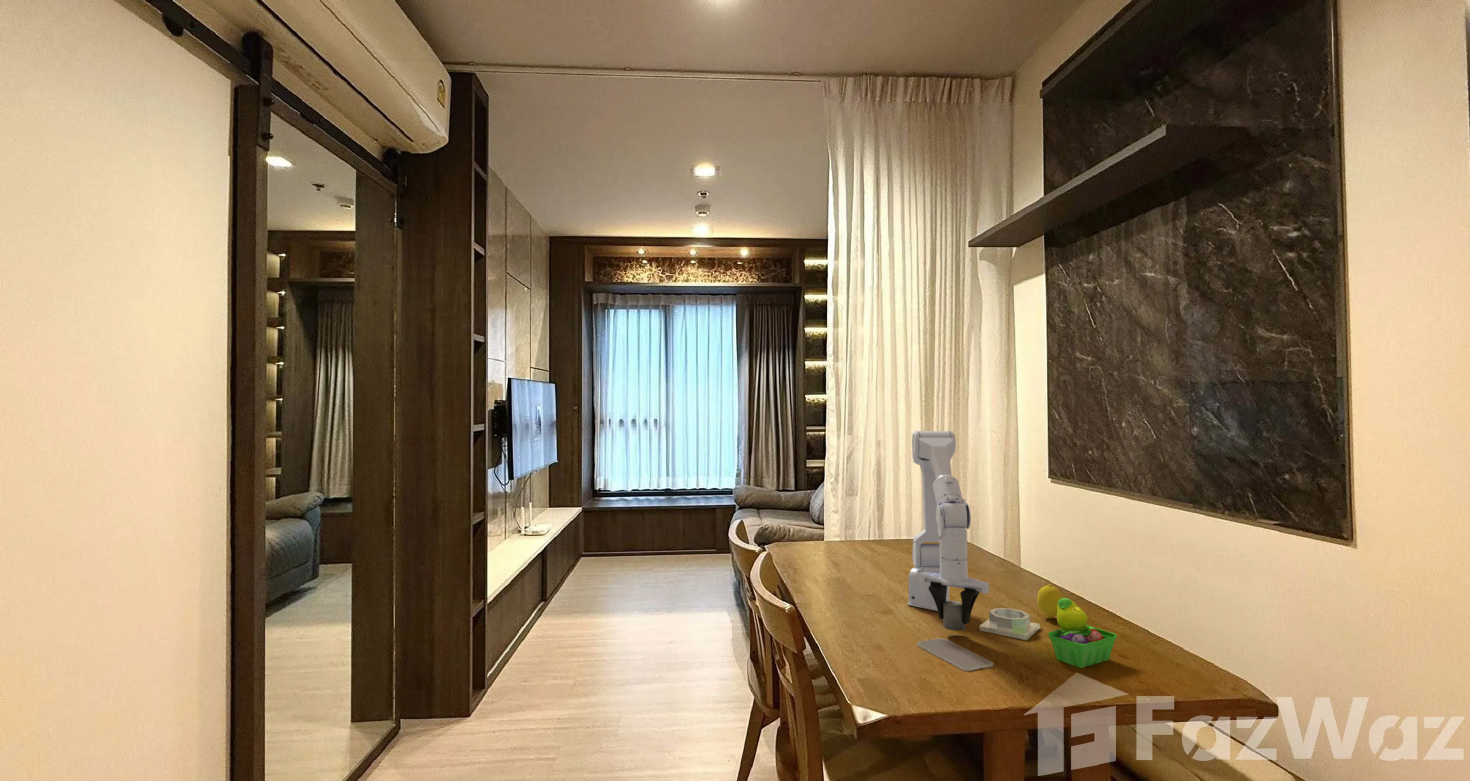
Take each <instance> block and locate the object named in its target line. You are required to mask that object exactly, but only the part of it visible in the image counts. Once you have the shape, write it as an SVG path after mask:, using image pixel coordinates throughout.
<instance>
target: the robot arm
mask: <svg viewBox="0 0 1470 781" xmlns="http://www.w3.org/2000/svg"><path fill="white" fill-rule="evenodd" d="M911 437H912V438H911V448H912V451H911V452H912V454H911V455H912V459H913V463H915V464H916V465H919V468H920V472H921V486H922V487H921V491H922V514H923V516H922V517H923V519H922V520H923V530H921V531H920V532H919V533H918V534H916V535H915V536H914V537H913V539H912V553H911V554H912V555H911V556H912V562H913V564H912V565H913V566H914V567H912V568H911V570H910V571H909V574H908V602H907V605H908V606H911V607H915V608H921V609H927V610H932V611H936V612H937V613H938V617H939V619H940V620H943V602H945V601H950V587H951V588H956V589H957V588H958V589H963V590H962V591H960V599H961V602H962V608H963V616H962V620H963V624H966V625H967V624H969V623H970V620H971V615H972V610H973V608H974V605H975V602H976V600H977V598H978V597H979V595H980V593H981V594H988V593H989V592H990V583H989V582H987V581H982V580H978V579H975V578H971V577H968V575H969V573H968V530H969V529H970V527H971V508H970V505H969V503H968V502H967V501H966V499H965V498H963V494H962V490H961V487H960V483H959V480H958V479H957V478H956V477H954V476H953V474H952V467H951V460H952V458H953V456H954V454H955V453H956V445H957V444H956V443H957V442H956V435H955V433H954V432H953V431H952V430H941V431H940V430H937V431H936V430H931V431H930V430H922V431H920V430H914V432H913V433H912V436H911Z"/></svg>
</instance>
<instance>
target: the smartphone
mask: <svg viewBox="0 0 1470 781" xmlns="http://www.w3.org/2000/svg"><path fill="white" fill-rule="evenodd" d="M916 646H917V647H918V648H920V649H921V650H924V651H925V652H927V653H929V654H931V655H933V656H935V657H936V658H938V659H940V660H942V661H944V662H946V663H948V664H949V665H952V667H955V668H957V669H959V670H961V671H963V672H973V671H976V670H980V669H981V670H983V669H989V668H993V667H994V663H993V661H991V660H988V659H987V658H984V657H983V656H981V655H979V654H977V653H975V652H973V651H971V650H968V649H966V648H965V647H962V646H960V645H959V644H957V643H954V642H953V641H951V640H949V639H946V638H934V639H928V640H927V639H926V640H920V641H918V642H917V645H916Z"/></svg>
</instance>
